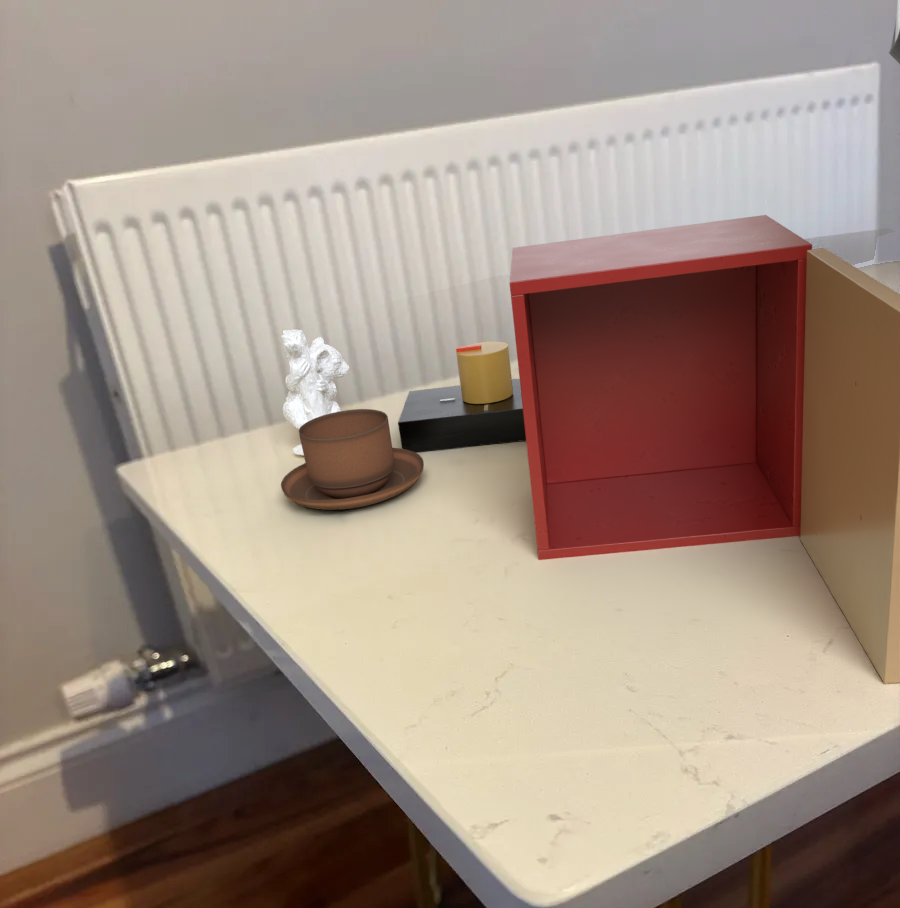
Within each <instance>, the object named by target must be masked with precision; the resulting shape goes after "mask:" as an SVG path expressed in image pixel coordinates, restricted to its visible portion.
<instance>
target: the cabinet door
mask: <svg viewBox="0 0 900 908" xmlns="http://www.w3.org/2000/svg"><path fill="white" fill-rule="evenodd" d="M799 538H800V542H801V543H802V545H803V547H804V549H805V550H806V552H807V554H808V556H809V557H810V559H811V560H812V562H813V564H814V566H815V568H816V570H817V571H818V573H819V575H820V576H821V578H822V579H823V581H824V583H825V585H826V586H827V588H828V590H829V591H830V593H831V595H832V597H833V598H834V600H835V602H836V603H837V605H838V607H839V609H840V610H841V612H842V614H843V615H844V617H845V619H846V621H847V623H848V624H849V626H850V627H851V629H852V631H853V633H854V634H855V637H856V638H857V639H858V641H859V643H860V645H861V646H862V648H863V650H864V652H865V654H866V655H867V656H868V658H869V660H870V662H871V664H872V665H873V667H874V669H875V670H876V672H877V674H878V676H879V677H880V679H881V680H882V683H883V684H884V685H886V684H887V685H888V684H900V293H898V292H896V291H895V290H893V289H891V288H890V287H889V286H887V285H885V284H883V282H880V281H878V279H876V278H874V277H872V276H871V275H869V274H867V273H866V272H864V271H862V270H860V269H859V268H857V267H856V266H854V265H853V264H851V263H849V262H848V261H846V260H844V259H843V258H841V257H839V256H838V255H836V254H834V253H833V252H831V251H830V250H828V249H826V248H824V247H822V248H814V249H813V248H812V250H807V269H806V313H805V357H804V401H803V445H802V489H801V533H800V536H799Z"/></svg>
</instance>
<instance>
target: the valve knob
mask: <svg viewBox="0 0 900 908" xmlns="http://www.w3.org/2000/svg"><path fill="white" fill-rule="evenodd" d="M509 350H510V349H509V344H508V343H507V342H503V341H498V340H497V341H494V340H493V341H490V340H489V341H480V342H475V343H471V344H467V345H464V346H457V347H456V348H455V355H456V361H457V369H458V377H459V385H460V386H461V393H462V400H463V401H464V402H466V403H471V404H486V403H493V402H498V401H501V400H504V399H507V398H509V397H510V396H512V395H513V386H512V379H513V378H512V377H513V376H512V367H511V360H510V358H511V357H510V351H509Z"/></svg>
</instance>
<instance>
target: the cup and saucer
mask: <svg viewBox="0 0 900 908" xmlns="http://www.w3.org/2000/svg"><path fill="white" fill-rule="evenodd" d="M298 436H299V441H300V444H302V449H303V453H304V456H303V457H304V461H305V462H304V463H302V464H300V465H298V466H296V467H294V468H293V469H292V470H290V471H289V472H288V473H287V474H286V475H284V477H283V478H282V479H281V483H280V488H281V491H282V493H283V494H284V496H285V497H286V499H289V500H291V501H292V502H294V503H295V504H297V505H299V506H302V507H306V508H309V509H315V510H324V511H325V510H328V511H329V510H330V511H334V510H348V509H355V508H362V507H366V506H370V505H374V504H377V503H381V502H384V501H386V500H389V499H392V498H394V497H396V496H397V495H400V494H402V493H403V492H405V491H406V490H408V489H409V488H411V487H412V486H413V485H414V484H415V483H416V482H417V481H418V479H419V478H420V477H421V476H422V474H423V473H424V466H425V465H424V463H425V462H424V459H423V457H422V456H421V455H420V454H418V452H413V451H410V450H406V449H402V447H400V448H399V447H393V442H392V436H391V429H390V423H389V416H388V415H387V413H386V412H384V411H382V410H377V409H373V408H372V409H370V408H357V409H348V410H347V409H346V410H340V412H335V413H330V414H326V415H323V416H320V417H317V418H315V419H312V420H310V421H308V422H306V423H305V424H303V425H302V426H301V427H300V429H298Z"/></svg>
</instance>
